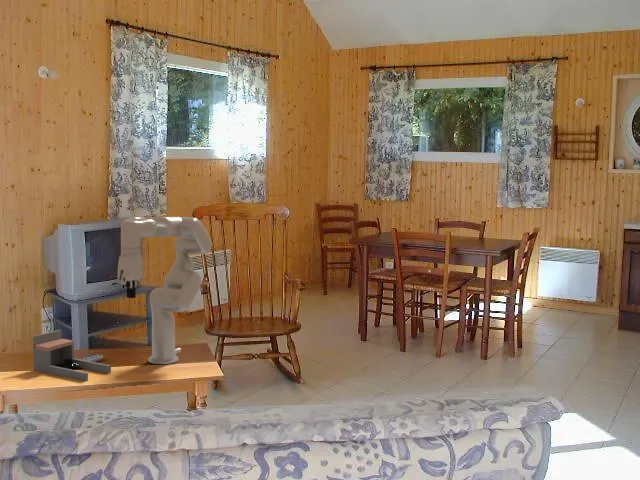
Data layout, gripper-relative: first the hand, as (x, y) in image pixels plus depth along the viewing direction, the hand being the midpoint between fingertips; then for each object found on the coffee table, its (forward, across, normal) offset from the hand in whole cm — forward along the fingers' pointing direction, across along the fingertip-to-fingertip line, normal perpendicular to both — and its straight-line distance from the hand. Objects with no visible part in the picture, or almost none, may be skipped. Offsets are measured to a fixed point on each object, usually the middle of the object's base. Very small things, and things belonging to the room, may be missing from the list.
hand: (131, 297), depth 294 cm
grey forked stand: (+31, +10, -22) cm, 39 cm away
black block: (+32, +9, -25) cm, 41 cm away
